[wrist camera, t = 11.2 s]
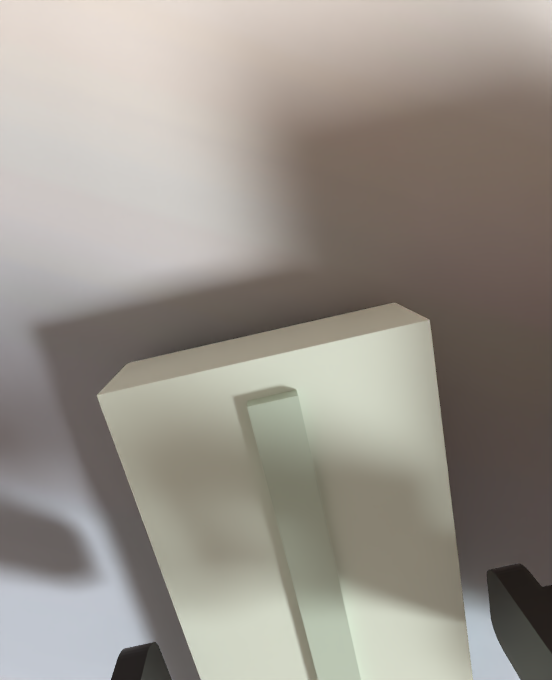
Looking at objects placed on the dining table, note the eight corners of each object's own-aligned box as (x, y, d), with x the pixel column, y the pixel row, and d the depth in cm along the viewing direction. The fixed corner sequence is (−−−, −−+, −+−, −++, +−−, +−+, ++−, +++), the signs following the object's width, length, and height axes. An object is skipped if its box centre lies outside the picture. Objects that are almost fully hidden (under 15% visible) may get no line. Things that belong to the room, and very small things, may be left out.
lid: (136, 353, 11) (90, 401, 8) (384, 297, 10) (436, 323, 8) (258, 724, 14) (259, 855, 11) (441, 683, 14) (491, 804, 11)
